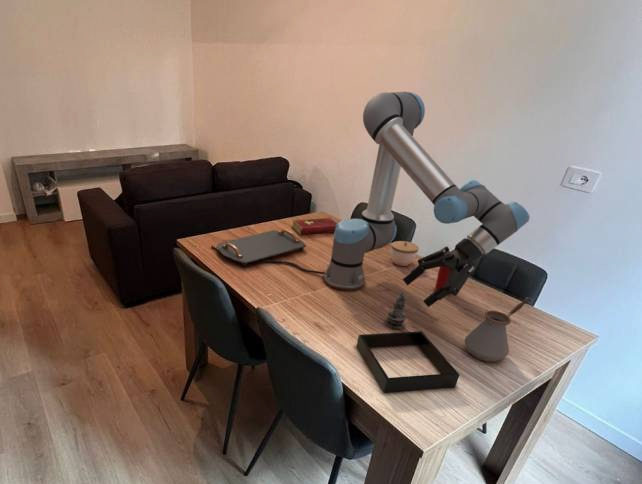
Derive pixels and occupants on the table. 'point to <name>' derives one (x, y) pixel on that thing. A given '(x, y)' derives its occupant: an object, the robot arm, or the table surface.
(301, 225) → the hardcover book
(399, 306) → the chess piece
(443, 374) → the black square frame
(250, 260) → the serving tray
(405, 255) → the trinket box
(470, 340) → the coffee pot
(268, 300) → the table surface
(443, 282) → the paper cup
